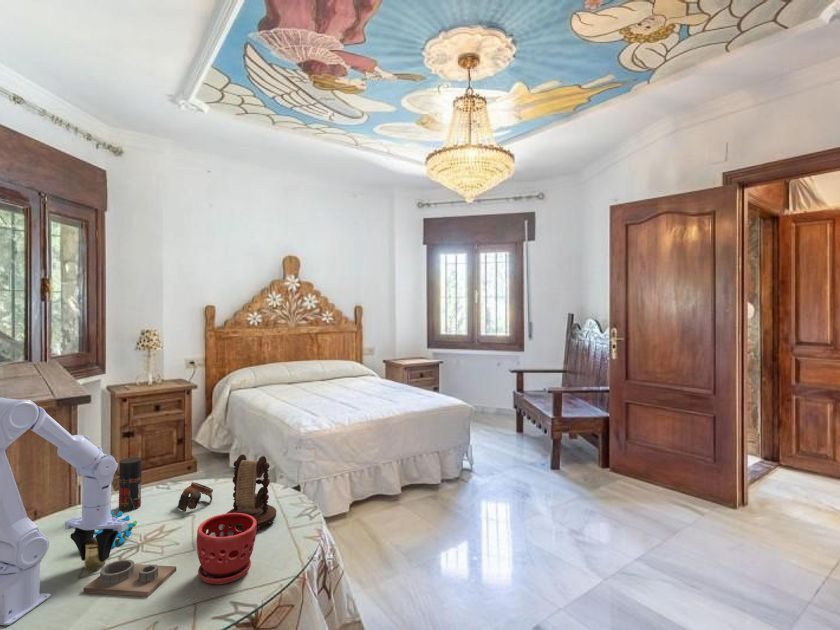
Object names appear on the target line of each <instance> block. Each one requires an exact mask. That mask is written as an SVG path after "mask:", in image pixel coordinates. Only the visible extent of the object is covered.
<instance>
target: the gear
mask: <svg viewBox="0 0 840 630" xmlns="http://www.w3.org/2000/svg"><path fill="white" fill-rule="evenodd" d="M114 513H115V511H114V510H111V515H112V516H113V515H114ZM123 515H124V512H122V511H119V510H118V512H117V514H116V515H115V516H114V517H113V518H116V519H119V520H123V521H127V522H129V521H130V519H131V518H130V515H126V516H125V517H123V518H122V516H123ZM120 517H121V518H120ZM137 524H138V521H137V520H134V521H133V522H129V523H127V529H126V530H124V531H123V532H119V533H118V534H117V536H116V538H115V540H114V542H113V545H112V548H111V549H114V548H115V547H116V540H117V539H119V541H118V545H122V544H124V543H125V542H126V539H125V538H129V537H130V536H131V534H132V530H133V528H135V527H136V526H137ZM101 532H103V530H97V531H96V530H95V532H94V535H95V536H93V538H96V535H98V534H99V533H101ZM123 534H124V535H125V538H124V537H123Z"/></svg>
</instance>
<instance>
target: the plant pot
mask: <svg viewBox="0 0 840 630" xmlns="http://www.w3.org/2000/svg"><path fill="white" fill-rule="evenodd" d="M226 513H227V512H226ZM226 513H221V514H217V515H214V516H212V517H211V516H210V517H209V518H207V519H206V520H204V521H202V522H201V523H200V525H199V526H198V527H197V530H196V532H197V533H196V550H197V551H196V552H197V558H198V561H199V564H200V565H199V566H198V570H197V574H198V577H199V578H200V580H202V581H203V582H205V583H207V584H211V585H223V584H224V585H225V584H227V583H228V584H229V583H231V582H235V581H237V580H238V579H240V578H242V577H243V576H245V575H246V573H248V572H249V570H250V568H251V566H252V559H251V556H252V553H253V551H254V545H255V542H256V536H257V532H256V527H257V523H256V520H255V518H254V517H252V516H250V515H247V514H243V513H227V514H226ZM237 523H241V524H242V526H243V529H240V530H239V529H236V524H237ZM229 524H233V526H232V527H229ZM220 526H223V527H222V528H220ZM247 528H248V529H247ZM229 532H232V535H229ZM221 533H222V534H223V535H221ZM211 534H214V535H215V536H213V535H212V536H211Z"/></svg>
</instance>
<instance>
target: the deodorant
mask: <svg viewBox="0 0 840 630" xmlns="http://www.w3.org/2000/svg"><path fill="white" fill-rule="evenodd" d="M142 460H143V459H142V457H127V458H123V459H121V460H119V473H118V475H119V476H118V478H119V479H118V481H119V482H118V512H119V511H121V512H123V513H124V512H125V513H126V512H130V511H131V512H132V511H135V510H137V509H139V508H141V507H142V506H141V505H142V471H143V470H142V469H143V468H142V464H143V461H142Z"/></svg>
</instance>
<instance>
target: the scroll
mask: <svg viewBox="0 0 840 630" xmlns="http://www.w3.org/2000/svg"><path fill="white" fill-rule="evenodd" d="M232 465H233V469H234V473H233V478H232V483H233V485H234V487H233V491H234V492H233V493H232V497H233V499H232V500H233V505H232V507H233V508H232V509H230V510H229V511H227V512H226V513H225V514H227V513H243V514H247V515H250V516H252V517H254V518H255V520H256V523H257V527H256V533H257V532H258V531H259V528H260V527H263V526H266V525H268V524H270V523H271V522H273V521H274V520H275V519H276V518H277V509H276V508H275V507H274V506H272V505H270V504H269V501H268V500H269V499H270V495H269V489H268V488H269V485H270V482H271V480H270V479H269V471H270V470H269V469H270V467H271V465H270V463H268V462H267V458H266V456H265V455H261V456H260V457H259V458H258V459H257V460H248V459H247V456H246V455H245V454H243V453H242V454H240V455H239V456H238V457H237V459H236V460H235V461H234V462H233V464H232ZM262 477H263V479H261V478H262ZM257 485H262V487H260V488H259V489H258V491H257V493H256V488H257ZM232 526H233V524H229V527H232ZM236 529H237V530H242V529H243V526H242V524H241V523H237V524H236ZM247 530H248V528H247Z"/></svg>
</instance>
